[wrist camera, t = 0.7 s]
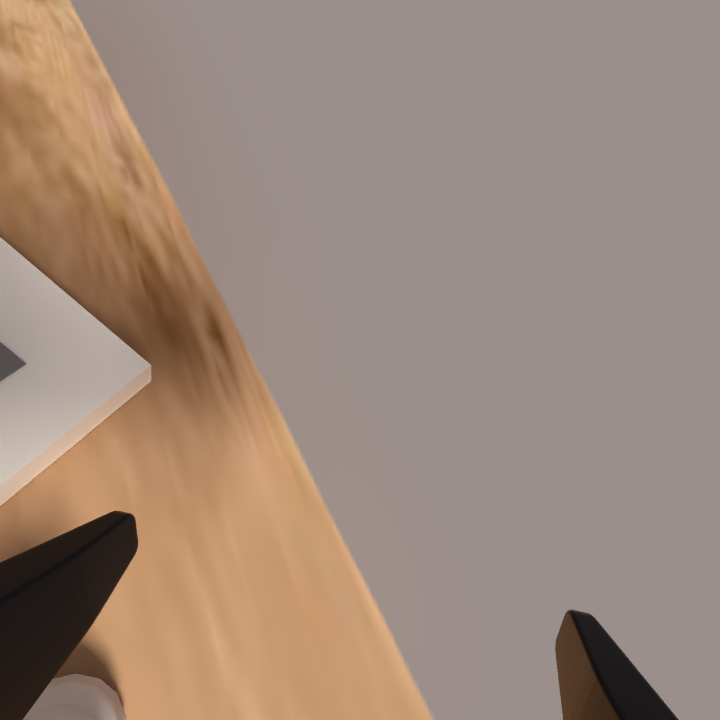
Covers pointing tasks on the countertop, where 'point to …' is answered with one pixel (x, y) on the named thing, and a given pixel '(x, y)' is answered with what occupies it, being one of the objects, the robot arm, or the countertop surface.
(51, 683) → the rook chess piece
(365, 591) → the countertop surface
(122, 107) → the countertop surface
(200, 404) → the countertop surface
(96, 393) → the socket block
